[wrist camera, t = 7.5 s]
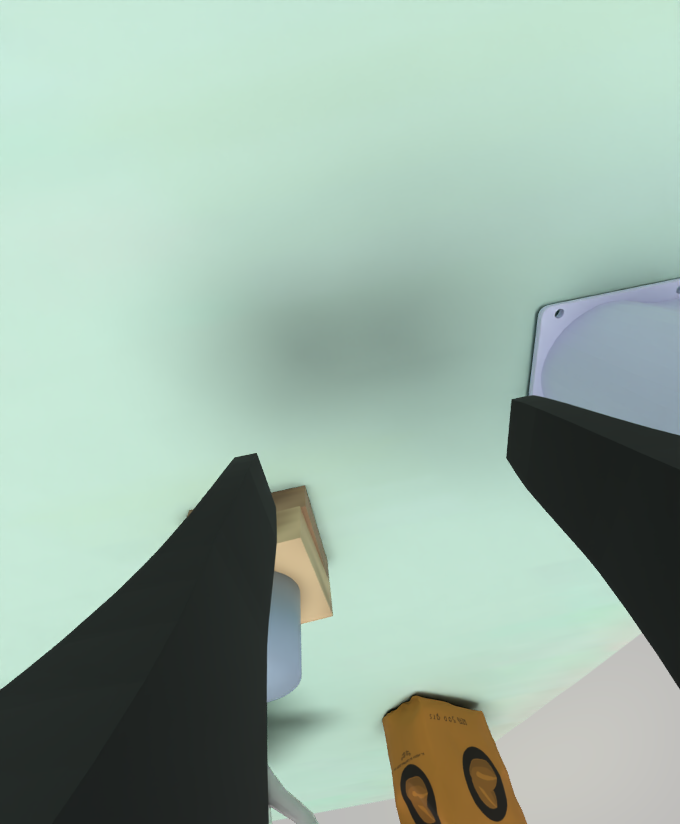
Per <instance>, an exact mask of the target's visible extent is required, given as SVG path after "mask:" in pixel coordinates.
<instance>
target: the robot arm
mask: <svg viewBox="0 0 680 824" xmlns="http://www.w3.org/2000/svg"><path fill="white" fill-rule="evenodd" d="M677 288H678V289H677ZM557 310H559V313H558V315H557V316H555V313H556V311H557ZM506 458H507V460H508V461H509V463H510V465H511V466H512V468H513V469H514V471H515V473H516V474H517V476H518V477H519V478H520V480H521V481H522V483H523V484H524V486H525V487H526V488H527V490H528V491H529V492H530V493H531V494H532V495H533V497H534V498H535V499H536V500H537V501H538V502H539V504H540V505H541V506H542V507H543V508H544V509H545V510H546V512H547V513H548V514H549V515H550V516H551V517H552V518H553V519H554V521H555V522H556V523H557V524H558V525H559V526H560V527H561V529H562V530H563V531H564V532H565V533H566V534H567V535H568V536H569V538H570V539H571V540H572V541H573V542H574V543H575V544H576V545H577V547H578V548H579V549H580V550H581V551H582V552H583V553H584V555H585V556H586V557H587V558H588V559H589V561H590V562H591V563H592V564H593V565H594V567H595V568H596V569H597V570H598V572H599V573H600V574H601V576H602V577H603V578H604V580H605V581H606V582H607V584H608V585H609V587H610V588H611V589H612V591H613V592H614V593H615V595H616V596H617V598H618V599H619V600H620V602H621V603H622V604H623V606H624V607H625V608H626V610H627V611H628V613H629V614H630V616H631V617H632V618H633V620H634V621H635V623H636V624H637V626H638V627H639V629H640V630H641V632H642V633H643V634H644V636H645V637H646V639H647V640H648V642H649V643H650V645H651V646H652V647H653V649H654V650H655V652H656V653H657V655H658V656H659V658H660V659H661V661H662V662H663V664H664V665H665V667H666V669H667V670H668V672H669V673H670V675H671V676H672V678H673V679H674V681H675V683H676V684H677V686H678V687H679V688H680V278H678V279H674V280H669V281H664V282H659V283H654V284H649V285H644V286H639V287H634V288H629V289H624V290H619V291H615V292H610V293H605V294H600V295H595V296H590V297H585V298H580V299H575V300H570V301H565V302H561V303H556V304H551V305H547V306H544V307H543V308H542V309H541V310H540V312H539V314H538V320H537V329H536V337H535V346H534V354H533V363H532V371H531V380H530V388H529V396H526V397H521V398H516V399H512V401H511V412H510V423H509V434H508V445H507V456H506ZM276 547H277V517H276V505H275V503H274V500H273V497H272V494H271V492H270V489H269V486H268V483H267V480H266V478H265V475H264V472H263V469H262V467H261V464H260V461H259V458H258V455H257V453H254V454H249V455H245V456H240V457H235V458H234V459H233V460H232V461H231V463H230V464H229V465H228V466H227V468H226V469H225V470H224V471H223V473H222V474H221V475H220V477H219V478H218V479H217V481H216V482H215V483H214V484H213V486H212V487H211V488H210V490H209V491H208V492H207V493H206V495H205V496H204V497H203V498H202V500H201V501H200V502H199V503H198V505H197V506H196V507H195V508H194V510H193V511H192V512H191V513H190V514H189V516H188V517H187V518H186V519H185V520H184V521H183V522H182V524H181V525H180V526H179V527H178V528H177V529H176V530H175V532H174V533H173V534H172V535H171V536H170V537H169V539H168V540H167V541H166V542H165V543H164V544H163V545H162V546H161V548H160V549H159V550H158V551H157V552H156V553H155V554H154V555H153V556H152V557H151V558H150V559H149V560H148V561H147V562H146V563H145V564H144V565H143V566H142V567H141V568H140V569H139V570H138V571H137V572H136V573H135V574H134V575H133V576H132V577H131V578H130V579H129V580H128V581H127V582H126V583H125V584H124V585H123V586H122V587H121V588H120V589H119V590H118V591H117V592H116V593H115V594H114V595H113V596H111V597H110V598H109V599H108V600H107V601H106V602H105V603H104V604H102V605H101V606H100V607H99V608H98V609H97V610H96V611H95V612H93V613H92V614H91V615H90V616H89V617H88V618H87V619H85V620H84V621H83V622H82V623H81V624H80V625H79V626H78V627H76V628H75V629H74V630H73V631H72V632H71V633H70V634H69V635H67V636H66V637H65V638H64V639H63V640H62V641H60V642H59V643H58V644H57V645H56V646H54V647H53V648H52V649H51V650H50V651H48V652H47V653H46V654H45V655H43V656H42V657H41V658H40V659H39V660H37V661H36V662H35V663H34V664H32V665H31V666H30V667H29V668H28V669H26V670H25V671H24V672H23V673H21V674H20V675H19V676H17V677H16V678H15V679H14V680H12V681H11V682H10V683H9V684H7V685H6V686H5V687H3V688H2V689H1V690H0V824H269V813H268V765H267V643H268V627H269V617H270V607H271V597H272V587H273V578H274V568H275V558H276Z"/></svg>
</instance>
